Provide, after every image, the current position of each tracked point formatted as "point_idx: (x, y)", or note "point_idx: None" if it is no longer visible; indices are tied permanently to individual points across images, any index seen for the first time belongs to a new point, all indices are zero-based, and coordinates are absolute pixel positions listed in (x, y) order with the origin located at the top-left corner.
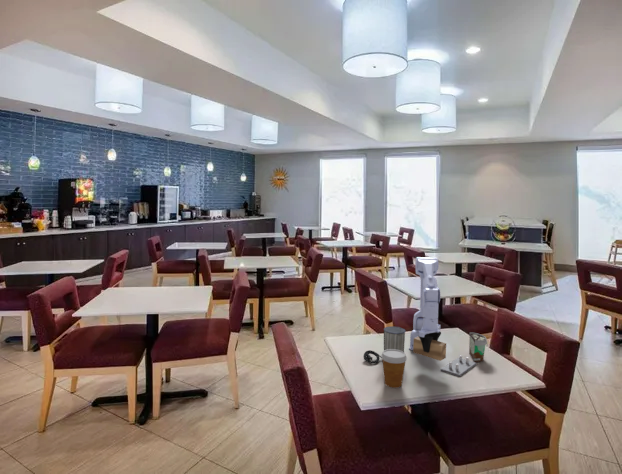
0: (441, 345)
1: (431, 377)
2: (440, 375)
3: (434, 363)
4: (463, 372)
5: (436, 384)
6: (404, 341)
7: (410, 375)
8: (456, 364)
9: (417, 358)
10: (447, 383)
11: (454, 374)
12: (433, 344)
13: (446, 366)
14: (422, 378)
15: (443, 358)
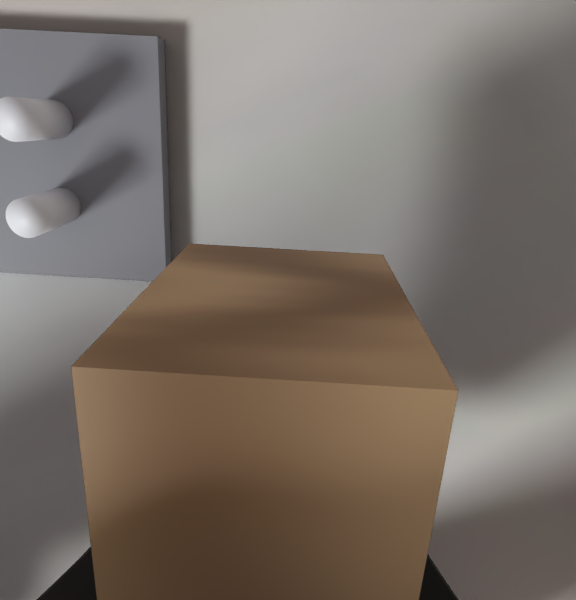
0: (394, 403)
1: (400, 277)
2: (287, 226)
3: (55, 387)
4: (41, 32)
5: (540, 166)
6: None
7: (485, 437)
8: (28, 125)
9: (80, 534)
10: (439, 79)
11: (164, 108)
12: (417, 585)
13: (57, 257)
14: (482, 332)
15: (272, 252)
